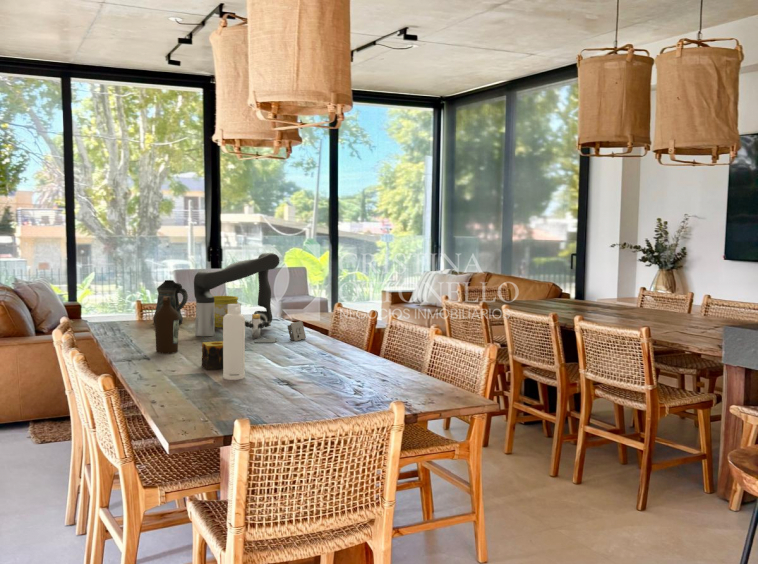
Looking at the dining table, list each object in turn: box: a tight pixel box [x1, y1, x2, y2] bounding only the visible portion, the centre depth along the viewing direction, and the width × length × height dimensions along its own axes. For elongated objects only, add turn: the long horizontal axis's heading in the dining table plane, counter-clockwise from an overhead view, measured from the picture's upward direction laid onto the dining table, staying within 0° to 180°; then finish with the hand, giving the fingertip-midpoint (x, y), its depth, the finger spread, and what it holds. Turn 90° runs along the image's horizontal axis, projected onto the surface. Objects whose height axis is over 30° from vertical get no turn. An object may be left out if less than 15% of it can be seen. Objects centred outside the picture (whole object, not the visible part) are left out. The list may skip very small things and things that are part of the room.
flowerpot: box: [212, 295, 239, 328], centre depth 403 cm, size 18×18×16 cm
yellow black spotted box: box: [201, 340, 223, 371], centre depth 288 cm, size 10×10×10 cm
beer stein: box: [152, 279, 189, 325], centre depth 409 cm, size 16×19×25 cm
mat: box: [253, 338, 277, 344], centre depth 353 cm, size 10×10×1 cm
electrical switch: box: [286, 320, 307, 342], centre depth 360 cm, size 9×5×9 cm, turn 152°
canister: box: [251, 313, 261, 339], centre depth 363 cm, size 4×4×12 cm
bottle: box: [222, 303, 246, 381], centre depth 269 cm, size 8×8×28 cm
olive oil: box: [153, 297, 180, 354], centre depth 320 cm, size 11×11×25 cm
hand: (255, 326), depth 360 cm, fingers closed on canister, 4 cm apart
